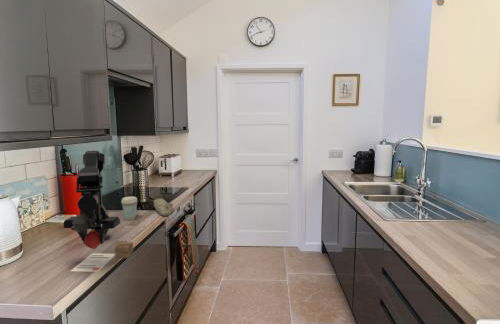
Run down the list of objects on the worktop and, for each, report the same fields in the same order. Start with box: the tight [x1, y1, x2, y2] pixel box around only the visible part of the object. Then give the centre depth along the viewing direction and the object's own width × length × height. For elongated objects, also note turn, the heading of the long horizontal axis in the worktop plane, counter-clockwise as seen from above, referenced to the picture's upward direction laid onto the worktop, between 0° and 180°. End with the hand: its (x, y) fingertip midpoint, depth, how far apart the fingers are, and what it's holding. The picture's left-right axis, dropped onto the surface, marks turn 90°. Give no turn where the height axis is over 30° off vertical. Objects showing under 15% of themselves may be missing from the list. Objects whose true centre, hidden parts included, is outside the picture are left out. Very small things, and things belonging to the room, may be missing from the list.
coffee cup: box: [120, 195, 138, 221], centre depth 157 cm, size 8×8×12 cm
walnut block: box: [114, 241, 134, 259], centre depth 113 cm, size 5×5×5 cm
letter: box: [70, 253, 116, 273], centre depth 107 cm, size 14×10×1 cm
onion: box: [84, 229, 101, 250], centre depth 106 cm, size 6×6×8 cm
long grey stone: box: [152, 197, 174, 217], centre depth 177 cm, size 35×5×10 cm
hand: (93, 243), depth 107 cm, fingers closed on onion, 6 cm apart
